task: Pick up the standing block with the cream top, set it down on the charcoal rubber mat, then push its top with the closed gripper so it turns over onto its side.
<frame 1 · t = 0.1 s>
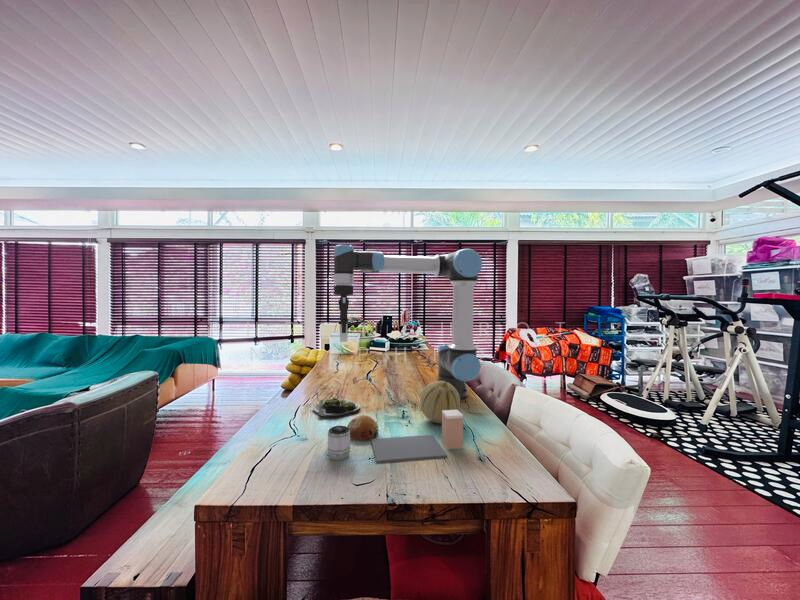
hand: (343, 339, 133), 28 cm above the table, fingers open, 13 cm apart
cantaloupe: (439, 422, 122), on the table
block: (451, 445, 103), on the table
bread roll: (363, 435, 110), on the table
salad plate: (336, 411, 133), on the table
camera lens: (338, 456, 96), on the table
mat: (407, 448, 101), on the table
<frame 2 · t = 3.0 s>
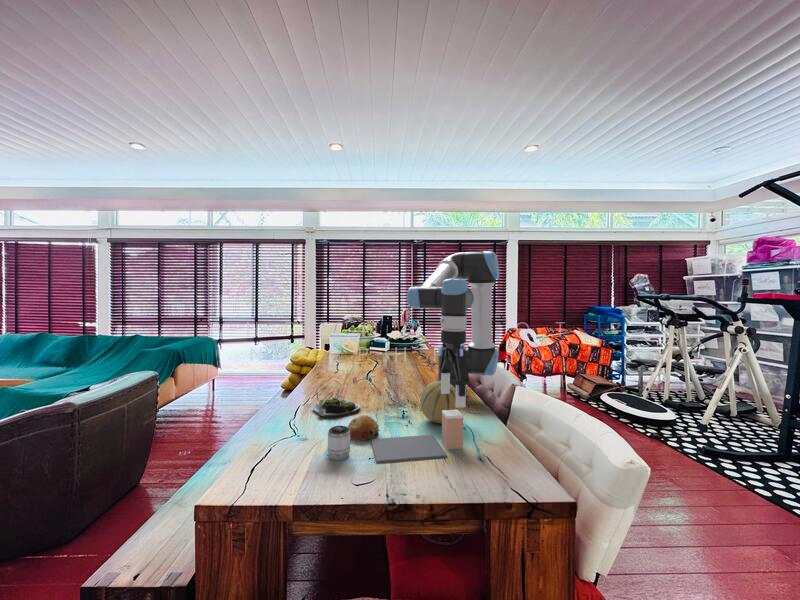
hand: (452, 399, 103), 14 cm above the table, fingers open, 13 cm apart
nothing on the table moved.
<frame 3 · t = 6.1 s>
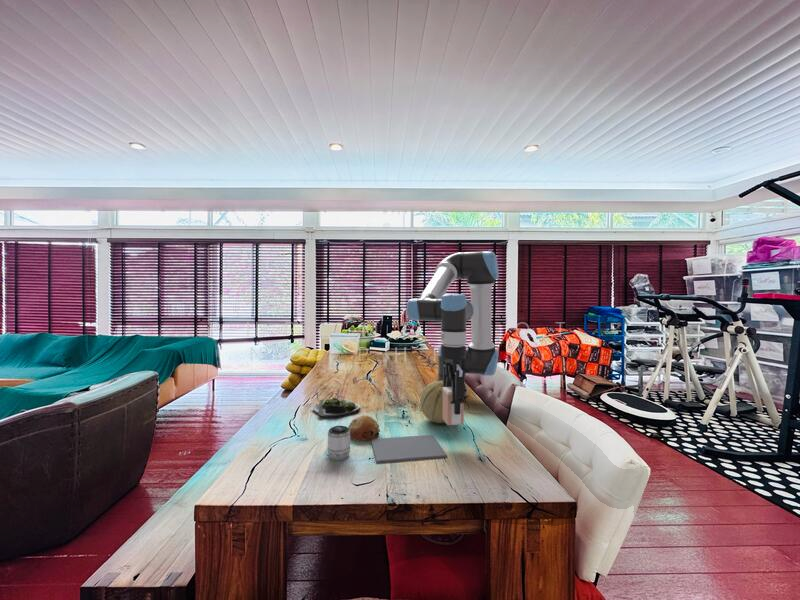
hand: (452, 420, 104), 8 cm above the table, fingers closed on block, 5 cm apart
block: (452, 421, 104), point 7 cm above the table, touching gripper
everything else where it was.
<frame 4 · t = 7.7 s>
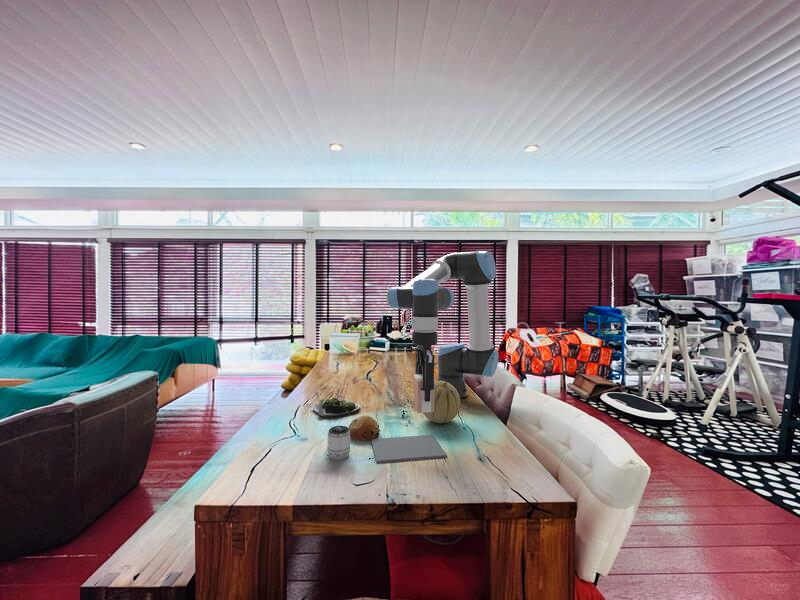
hand: (423, 408, 101), 12 cm above the table, fingers closed on block, 5 cm apart
block: (423, 409, 101), point 11 cm above the table, touching gripper
everything else where it was.
when the fingers open (1 cm above the table, at t = 9.9 s): block stays where it is, resting on mat.
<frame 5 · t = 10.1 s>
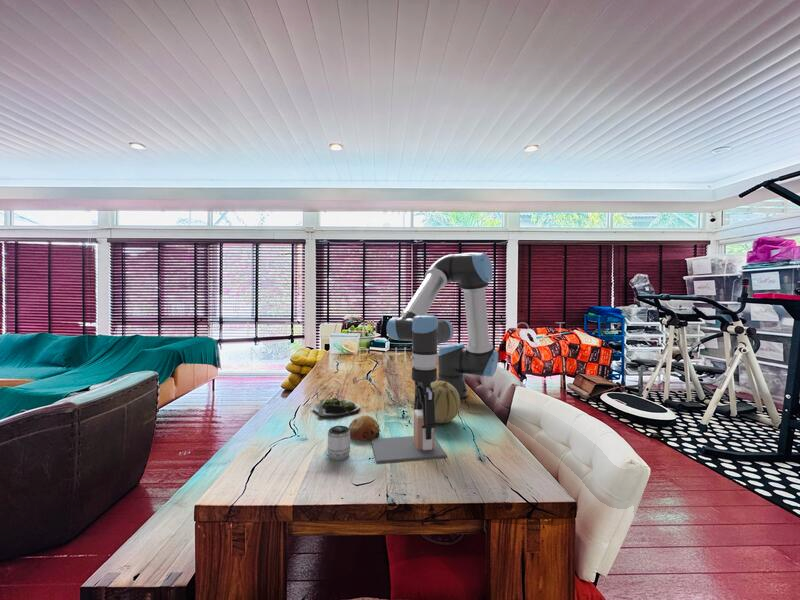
hand: (423, 442, 102), 1 cm above the table, fingers open, 8 cm apart
block: (423, 445, 102), point 1 cm above the table, touching mat
everything else where it was.
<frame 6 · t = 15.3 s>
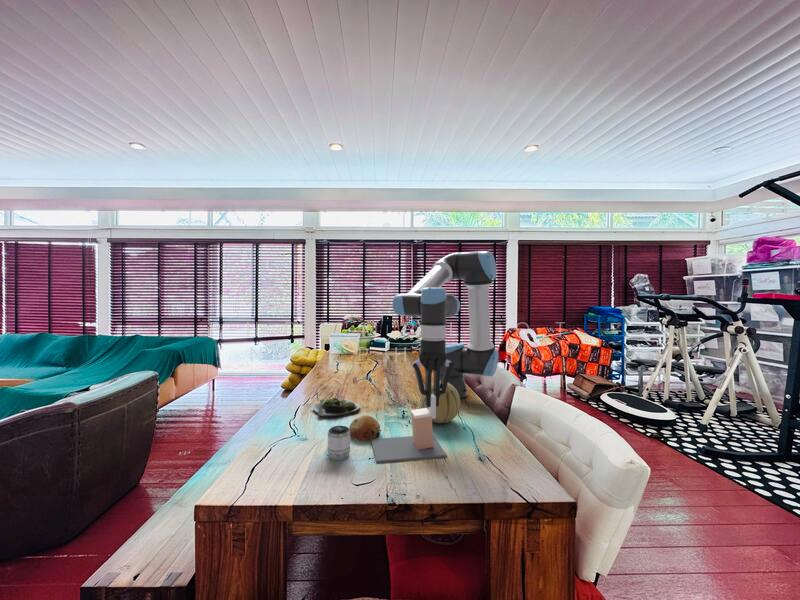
hand: (432, 417, 102), 9 cm above the table, fingers closed
block: (423, 444, 102), point 1 cm above the table, tilted 5°, touching mat
everything else where it was.
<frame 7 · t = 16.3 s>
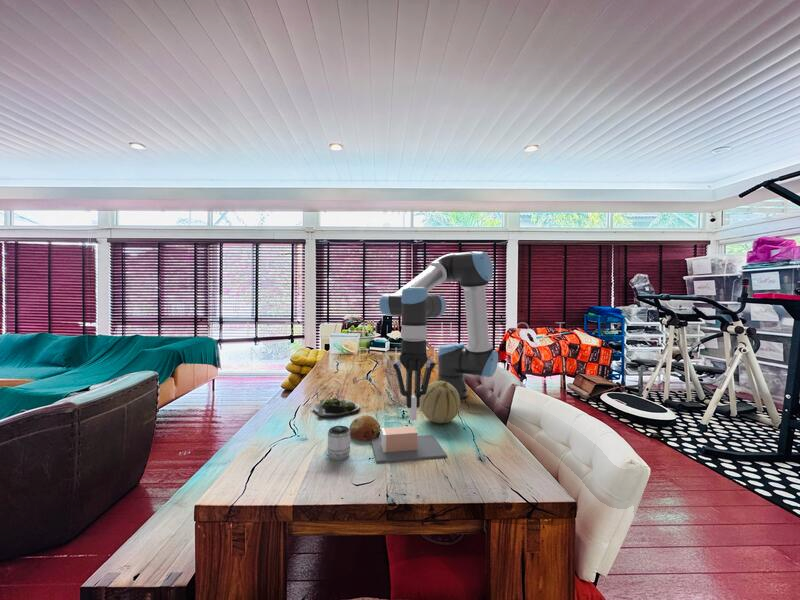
hand: (412, 418, 101), 9 cm above the table, fingers closed
block: (415, 437, 101), point 3 cm above the table, tilted 90°, touching mat
everything else where it was.
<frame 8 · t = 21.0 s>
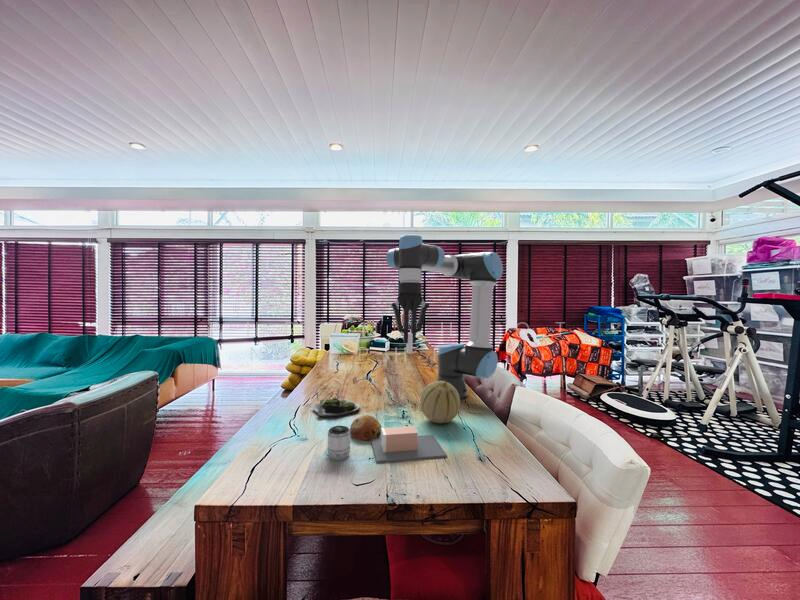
hand: (409, 352, 113), 26 cm above the table, fingers closed
at the end: block tilted 90°; block inside the target area (5.5 cm from its centre), point 3.1 cm above the table; the gripper is holding nothing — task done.
